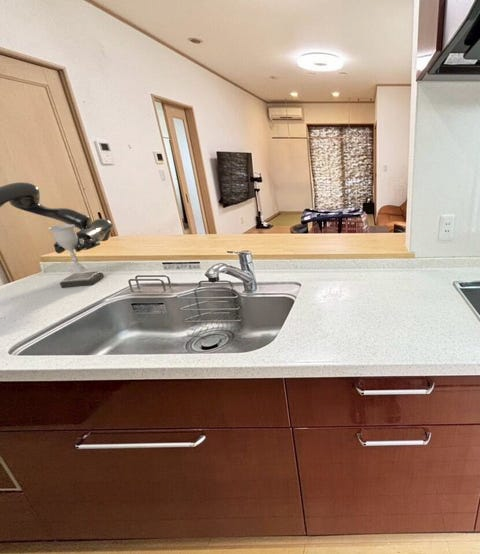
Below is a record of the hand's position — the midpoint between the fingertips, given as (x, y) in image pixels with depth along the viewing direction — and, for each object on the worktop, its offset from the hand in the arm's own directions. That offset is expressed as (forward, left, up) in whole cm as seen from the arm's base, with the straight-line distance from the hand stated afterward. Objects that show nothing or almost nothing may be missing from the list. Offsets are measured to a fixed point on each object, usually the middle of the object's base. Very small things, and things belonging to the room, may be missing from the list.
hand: (67, 250), depth 113 cm
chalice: (0, +3, -10) cm, 10 cm away
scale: (0, +2, -15) cm, 15 cm away
